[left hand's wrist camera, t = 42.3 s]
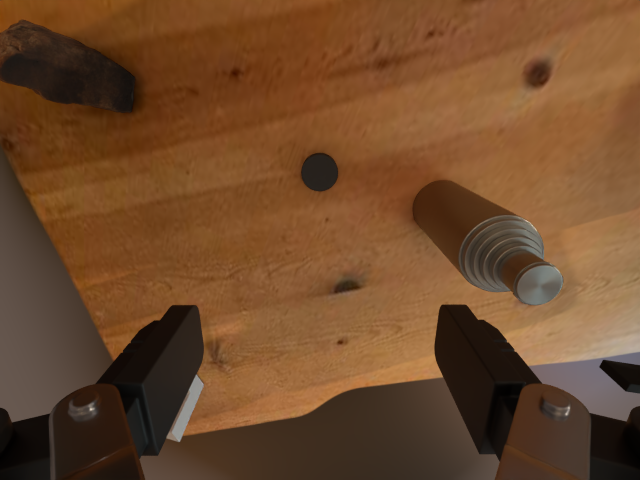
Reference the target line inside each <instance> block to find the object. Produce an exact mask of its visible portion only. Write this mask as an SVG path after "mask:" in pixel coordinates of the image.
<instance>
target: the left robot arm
mask: <svg viewBox="0 0 640 480" xmlns="http://www.w3.org/2000/svg"><path fill="white" fill-rule="evenodd" d="M203 353H204V344H203V337H202V329H201V322H200V315H199V310H198V307H197V306H196V305H172V306H171V307H170V308H169V309H168V311H167V312H166V313H165V315H164V316H163V317H162V318H161V320H160V321H153V322H151V323H150V324H148V325H147V326H145V327H144V328H142V329H141V330H140V331H139V332H138V333H137V334H136V335H135V337H134V338H133V339H132V340H131V343H129V344H128V345H127V346H126V348H125V349H124V350H123V353H121V354H120V355H119V356H118V357H117V358H116V360H115V361H114V362H113V363H112V365H111V366H110V367H109V368H108V369H107V370H106V372H105V373H104V374H103V375H102V377H101V378H100V379H99V380H98V381H97V383H96V384H93V385H89V386H86V387H83V388H81V389H78V390H76V391H74V392H72V393H71V394H69V395H67V396H66V397H65V398H63V399H62V400H61V401H60V402H59V403H58V404H57V405H56V406H55V407H54V408H53V410H52V411H51V413H50V414H46V415H42V416H38V417H34V418H29V419H25V420H21V421H17V422H11V419H10V417H9V414H8V412H7V411H6V410H5V409H3V408H0V480H145V477H144V474H143V470H142V467H141V463H140V460H139V459H140V457H141V456H158V454H159V452H160V450H161V448H162V446H163V444H164V442H165V439H166V437H167V435H168V433H169V431H170V429H171V427H172V425H173V423H174V420H175V418H176V416H177V414H178V412H179V410H180V408H181V406H182V404H183V401H184V399H185V397H186V395H187V393H188V391H189V389H190V387H191V384H192V382H193V380H194V378H195V376H196V374H197V372H198V370H199V368H200V365H201V363H202V359H203ZM435 357H436V361H437V364H438V366H439V369H440V371H441V373H442V375H443V377H444V379H445V381H446V383H447V386H448V388H449V390H450V392H451V394H452V396H453V399H454V401H455V403H456V405H457V407H458V409H459V411H460V413H461V416H462V418H463V420H464V422H465V424H466V426H467V429H468V431H469V433H470V435H471V437H472V439H473V441H474V443H475V446H476V448H477V450H478V452H479V454H496V456H497V457H498V459H499V461H500V463H499V467H498V470H497V474H496V477H495V480H640V406H638V407H635V408H633V409H632V410H631V412H630V415H629V417H628V420H627V422H626V421H622V420H617V419H613V418H608V417H604V416H600V415H596V414H592V413H589V411H588V410H587V408H586V407H585V406H584V405H583V404H582V403H581V402H580V401H579V400H578V399H577V398H575V397H574V396H573V395H571V394H569V393H568V392H566V391H564V390H562V389H559V388H557V387H554V386H551V385H547V384H542V383H541V381H540V380H539V379H538V378H537V376H536V375H535V374H534V373H533V372H532V370H531V369H530V368H529V367H528V366H527V364H526V363H525V362H524V361H523V359H522V358H521V357H520V356H519V355H518V353H517V352H515V351H514V348H513V347H512V346H511V345H510V344H509V343H507V340H506V339H505V338H504V336H503V335H502V334H501V333H500V331H499V330H498V329H497V328H495V327H494V326H492V325H491V324H489V323H488V322H486V321H485V320H478V319H477V318H476V317H475V315H474V314H473V313H472V311H471V310H470V309H469V307H468V306H467V305H441V307H440V310H439V316H438V323H437V330H436V338H435Z"/></svg>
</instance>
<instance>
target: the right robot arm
mask: <svg viewBox="0 0 640 480" xmlns="http://www.w3.org/2000/svg"><path fill="white" fill-rule="evenodd" d="M600 368H601V369H602V370H603V371H604V372H605V373H606V374H607V375H608V376H610V377H611V378H612V379H613V380H614V381H615V382H616V383H617V384H618V385H619V386H620V387H622V388H623V389H624V390H625V391H627V392H634V393H640V365H634V364H628V363H621V362H614V361H608V360H603V361H602V363H601V365H600Z"/></svg>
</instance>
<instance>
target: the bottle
mask: <svg viewBox="0 0 640 480" xmlns="http://www.w3.org/2000/svg"><path fill="white" fill-rule="evenodd" d="M413 215H414V218H415V221H416V222H417V224H418V225H419V226H420V227H421V229H422V230H423V231H424V232H425V233H426V234H427V235H428V237H429V238H430V239H431V240H432V241H433V242H434V243H435V245H436V246H437V247H438V248H439V249H440V250H441V251H442V252H443V254H444V255H445V256H446V257H447V258H448V259H449V260H450V262H451V263H452V264H453V265H454V266H455V267H456V268H457V270H458V271H459V272H460V273H461V274H462V275H463V276H464V278H465V279H466V280H467V281H468V282H469V283H471V284H472V285H474V286H476V287H478V288H481V289H483V290H486V291H491V292H507V291H512V292H513V294H514V296H515V297H516V298H518V299H519V300H520V301H521V302H523V303H525V304H529V305H541V304H544V303H547V302H549V301H550V300H552V299H553V298H554V297H555V296H556V295H557V294H558V293H559V291H560V289H561V288H562V284H563V276H562V275H561V273H560V272H559V271H558V269H557V268H556V267H555V266H554V265H552V264H551V263H549V262H546V261H544V246H543V241H542V238H541V236H540V234H539V233H538V232H537V230H536V229H535V227H534V226H533V225H532V224H531V223H530V222H529V221H527V220H526V219H524V218H522V217H520V216H518V215H516V214H514V213H512V212H510V211H508V210H506V209H504V208H502V207H501V206H499V205H497V204H495V203H493V202H491V201H489V200H487V199H485V198H483V197H481V196H479V195H477V194H476V193H474V192H472V191H470V190H468V189H466V188H464V187H462V186H460V185H458V184H456V183H454V182H452V181H448V180H439V181H435V182H432V183H430V184H428V185H427V186H425V187H424V188H423V189H422V190H421V191H420V192H419V193H418V195H417V196H416V198H415V201H414V204H413Z"/></svg>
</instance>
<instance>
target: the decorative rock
mask: <svg viewBox="0 0 640 480" xmlns="http://www.w3.org/2000/svg"><path fill="white" fill-rule="evenodd" d="M0 80H1V81H3V82H6V83H10V84H14V85H18V86H23V87H27V88H29V89H32V90H33V91H34V92H35V93H36V94H39V95H40V96H41V97H42V98H44V99H46V100H50V101H53V102H57V103H63V104H71V103H75V104H81V105H90V106H93V107H97V108H103V109H107V110H112V111H114V112H121V113H125V112H131V111H132V106H133V93H134V83H135V77H134V76H133V75H131V73H129V72H128V71H127V70H125V69H124V68H123V67H121V66H120V65H118V64H117V63H115V62H113V61H112V60H110V59H109V58H107V57H105V56H104V55H102V54H101V53H100V52H98V51H96V50H95V49H91V48H89V47H87V46H85V45H83V44H82V43H80V42H79V41H76V40H74V39H72V38H69V37H66V36H63V35H61V34H58V33H54V32H52V31H51V30H49V29H47V28H45V27H42V26H40V25H35V24H33V23H31V22H28V21H26V20H20V21H19V22H18V23H16V24H13V25H11V26H10V27H9V28H8V29H7V30H5V31H3V32H2V33H0Z"/></svg>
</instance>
